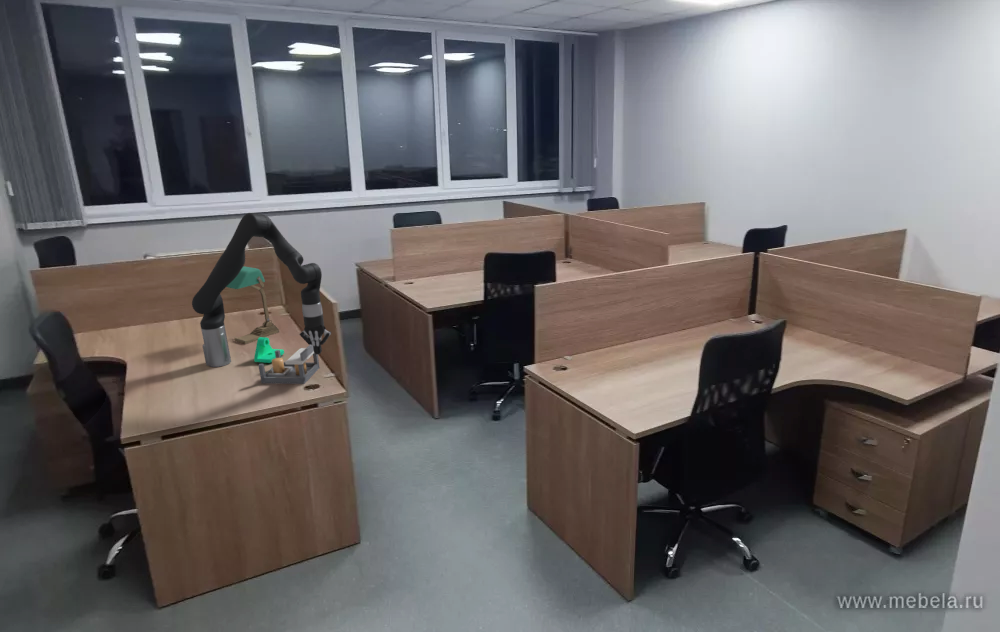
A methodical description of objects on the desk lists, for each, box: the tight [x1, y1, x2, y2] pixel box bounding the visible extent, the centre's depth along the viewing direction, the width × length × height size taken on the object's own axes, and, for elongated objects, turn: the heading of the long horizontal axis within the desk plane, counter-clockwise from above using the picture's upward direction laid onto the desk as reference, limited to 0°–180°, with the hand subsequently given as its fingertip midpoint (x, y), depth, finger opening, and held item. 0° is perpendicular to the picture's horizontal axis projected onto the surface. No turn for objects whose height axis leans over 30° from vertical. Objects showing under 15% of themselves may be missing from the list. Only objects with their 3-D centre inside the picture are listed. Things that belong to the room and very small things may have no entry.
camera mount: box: [253, 337, 285, 364], centre depth 258 cm, size 12×8×10 cm, turn 169°
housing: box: [258, 350, 320, 385], centre depth 241 cm, size 18×16×8 cm
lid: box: [284, 344, 314, 365], centre depth 238 cm, size 7×15×4 cm, turn 175°
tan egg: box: [271, 357, 285, 373], centre depth 241 cm, size 4×4×6 cm
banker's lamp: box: [226, 266, 280, 345], centre depth 282 cm, size 16×21×35 cm
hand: (318, 353), depth 238 cm, fingers closed
